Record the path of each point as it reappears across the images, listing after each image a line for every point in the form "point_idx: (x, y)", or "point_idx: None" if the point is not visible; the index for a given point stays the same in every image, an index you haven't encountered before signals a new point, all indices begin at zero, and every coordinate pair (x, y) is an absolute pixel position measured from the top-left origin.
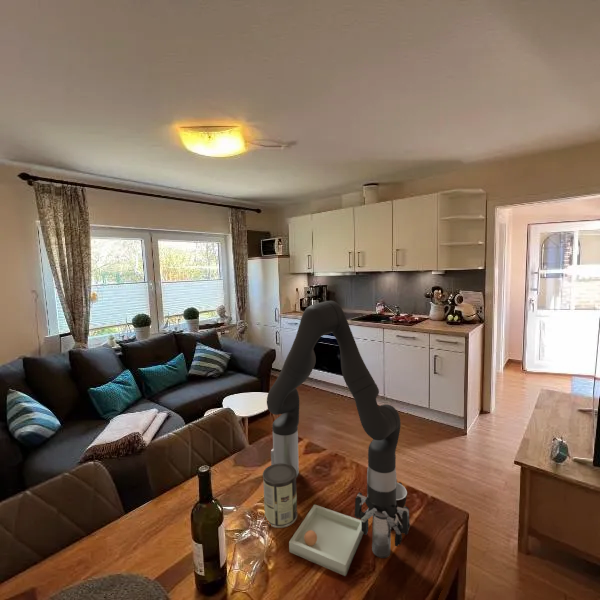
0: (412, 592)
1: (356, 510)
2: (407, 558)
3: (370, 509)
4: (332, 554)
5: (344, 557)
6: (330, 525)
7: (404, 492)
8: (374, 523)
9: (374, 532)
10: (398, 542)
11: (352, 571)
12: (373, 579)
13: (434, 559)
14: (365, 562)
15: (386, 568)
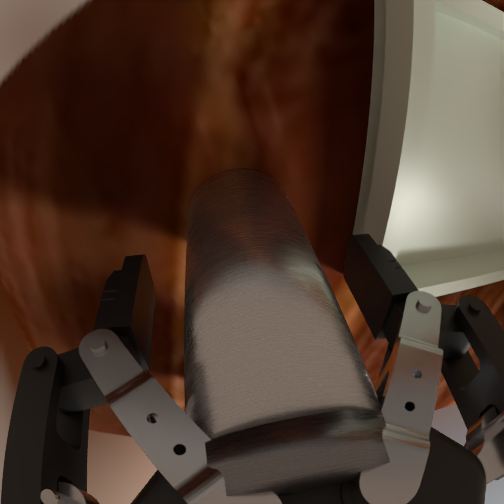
0: (15, 76)
1: (501, 342)
2: (105, 241)
3: (420, 435)
4: (466, 70)
5: (433, 24)
6: (482, 223)
7: None
8: (336, 328)
9: (307, 261)
10: (120, 280)
11: (350, 16)
12: (221, 13)
13: (28, 290)
14: (300, 99)
15: (173, 121)
